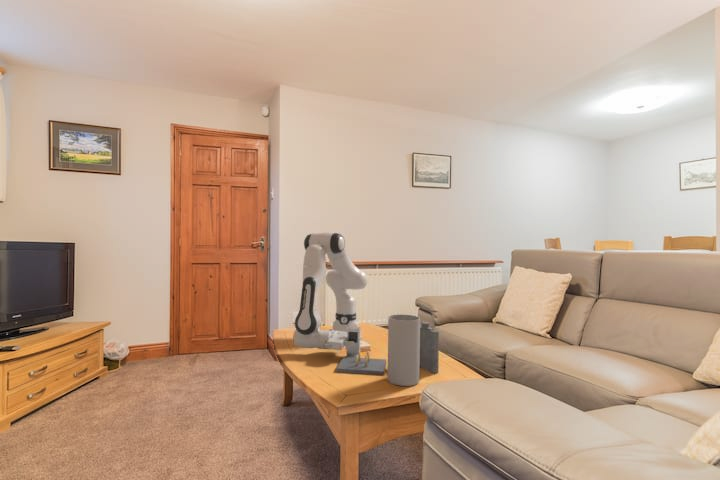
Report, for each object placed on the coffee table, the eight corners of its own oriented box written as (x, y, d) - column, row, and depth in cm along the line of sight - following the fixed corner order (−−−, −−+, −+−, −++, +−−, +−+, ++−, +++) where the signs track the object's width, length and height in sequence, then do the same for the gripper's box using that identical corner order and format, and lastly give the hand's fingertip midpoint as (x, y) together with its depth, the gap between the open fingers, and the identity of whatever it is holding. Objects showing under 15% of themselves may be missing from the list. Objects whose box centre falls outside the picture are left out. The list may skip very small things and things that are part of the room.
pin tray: (343, 360, 168) (343, 347, 168) (386, 362, 165) (386, 349, 165) (336, 372, 152) (336, 357, 152) (383, 375, 149) (384, 360, 149)
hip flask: (408, 363, 164) (409, 319, 164) (414, 362, 166) (415, 318, 167) (434, 374, 151) (435, 326, 151) (441, 372, 153) (441, 325, 154)
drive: (347, 355, 174) (348, 326, 174) (359, 356, 173) (360, 327, 174) (346, 358, 170) (346, 328, 171) (358, 358, 170) (359, 329, 170)
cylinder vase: (420, 376, 148) (421, 315, 148) (418, 388, 136) (419, 321, 136) (389, 373, 151) (390, 313, 151) (385, 385, 138) (386, 319, 139)
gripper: (321, 338, 164) (352, 340, 162) (331, 328, 184) (358, 329, 182) (321, 352, 163) (351, 354, 162) (331, 340, 184) (358, 342, 182)
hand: (355, 341), depth 172 cm, fingers open, 6 cm apart
